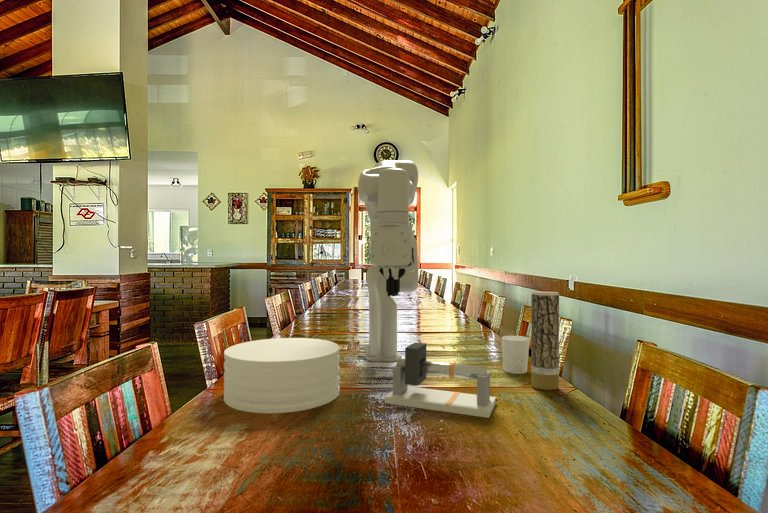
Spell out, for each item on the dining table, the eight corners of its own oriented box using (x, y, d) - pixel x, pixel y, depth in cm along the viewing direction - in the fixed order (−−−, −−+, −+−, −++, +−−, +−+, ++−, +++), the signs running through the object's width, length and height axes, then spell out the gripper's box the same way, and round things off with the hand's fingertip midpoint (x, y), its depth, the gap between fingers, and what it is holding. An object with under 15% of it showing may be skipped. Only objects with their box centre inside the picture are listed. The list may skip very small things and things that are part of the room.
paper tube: (561, 392, 112) (561, 293, 112) (533, 390, 113) (533, 293, 113) (556, 384, 119) (556, 291, 119) (529, 383, 120) (530, 291, 120)
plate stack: (197, 401, 105) (198, 353, 105) (278, 373, 129) (278, 334, 129) (290, 422, 91) (290, 367, 91) (360, 387, 116) (360, 343, 116)
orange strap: (444, 404, 98) (444, 367, 98) (455, 392, 107) (455, 358, 107) (450, 405, 97) (450, 368, 97) (460, 392, 106) (460, 358, 106)
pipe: (396, 372, 106) (396, 359, 106) (400, 369, 109) (400, 357, 109) (484, 382, 98) (484, 368, 98) (486, 378, 100) (486, 365, 100)
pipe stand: (384, 403, 103) (384, 368, 103) (399, 391, 112) (399, 359, 112) (488, 417, 94) (488, 380, 94) (495, 403, 103) (495, 369, 103)
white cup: (532, 374, 128) (532, 340, 128) (505, 374, 128) (505, 340, 128) (524, 368, 136) (524, 335, 136) (498, 367, 136) (498, 335, 136)
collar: (405, 384, 103) (405, 347, 103) (414, 376, 109) (414, 342, 109) (417, 385, 102) (417, 348, 102) (426, 378, 108) (426, 343, 108)
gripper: (358, 220, 107) (358, 295, 107) (417, 218, 101) (417, 298, 101) (371, 222, 114) (371, 293, 114) (427, 220, 108) (426, 295, 108)
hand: (392, 295), depth 108 cm, fingers closed
